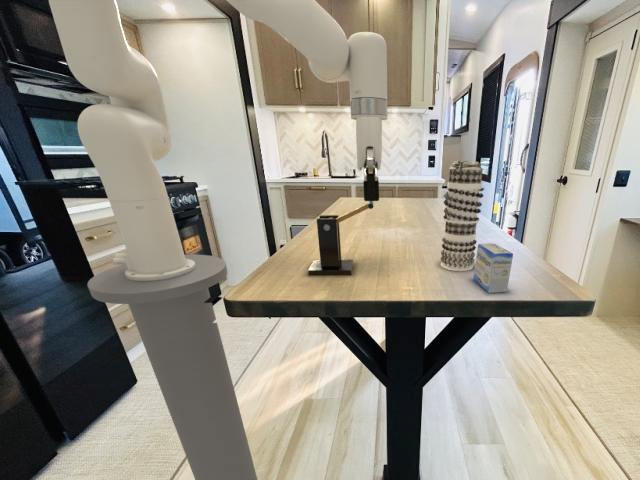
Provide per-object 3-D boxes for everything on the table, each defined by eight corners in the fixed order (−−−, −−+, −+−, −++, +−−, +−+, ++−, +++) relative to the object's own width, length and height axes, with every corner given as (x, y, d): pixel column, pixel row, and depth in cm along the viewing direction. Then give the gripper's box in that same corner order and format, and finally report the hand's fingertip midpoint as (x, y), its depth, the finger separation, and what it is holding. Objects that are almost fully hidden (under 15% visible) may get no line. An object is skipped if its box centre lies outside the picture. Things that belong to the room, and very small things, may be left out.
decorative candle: (481, 270, 80) (495, 162, 70) (447, 272, 78) (456, 161, 68) (465, 259, 88) (476, 161, 78) (434, 261, 86) (440, 160, 76)
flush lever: (375, 206, 76) (371, 197, 75) (375, 210, 72) (370, 200, 71) (327, 229, 78) (322, 220, 77) (324, 234, 73) (318, 224, 72)
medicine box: (472, 280, 74) (477, 243, 70) (490, 279, 75) (495, 242, 71) (488, 293, 67) (493, 253, 63) (507, 292, 68) (514, 252, 64)
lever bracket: (353, 264, 83) (350, 214, 78) (351, 274, 76) (348, 220, 71) (314, 264, 82) (309, 213, 77) (308, 275, 75) (302, 220, 70)
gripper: (353, 115, 73) (357, 193, 80) (347, 105, 57) (352, 203, 65) (386, 115, 74) (387, 193, 81) (389, 106, 58) (389, 203, 65)
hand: (371, 197), depth 73 cm, fingers open, 9 cm apart
